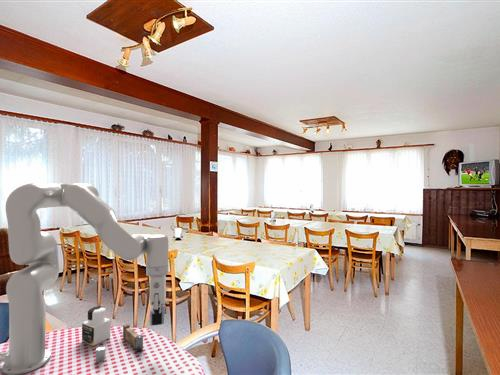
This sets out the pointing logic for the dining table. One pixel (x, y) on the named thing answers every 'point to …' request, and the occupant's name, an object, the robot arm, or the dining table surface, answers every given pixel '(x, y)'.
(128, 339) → the tan wooden plank
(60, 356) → the dining table surface
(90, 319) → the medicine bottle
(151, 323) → the block
